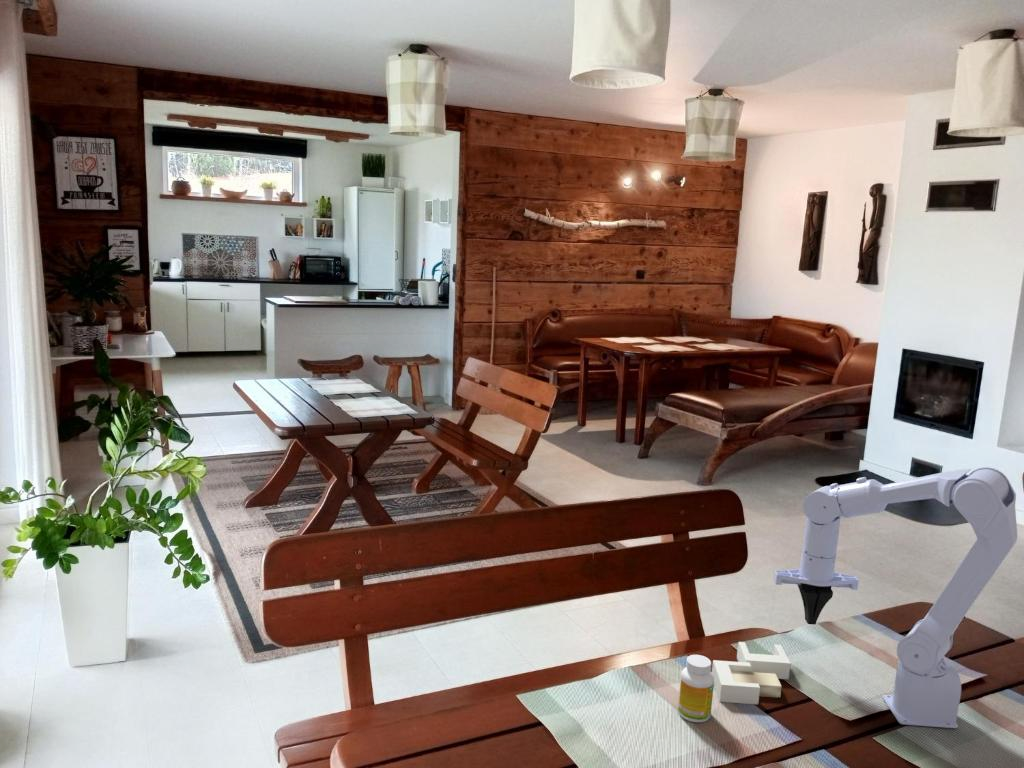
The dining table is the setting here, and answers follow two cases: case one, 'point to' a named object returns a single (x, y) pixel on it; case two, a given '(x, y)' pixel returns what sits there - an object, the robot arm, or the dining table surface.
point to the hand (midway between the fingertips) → (810, 621)
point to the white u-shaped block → (766, 661)
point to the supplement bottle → (696, 689)
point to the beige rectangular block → (760, 682)
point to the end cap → (734, 683)
